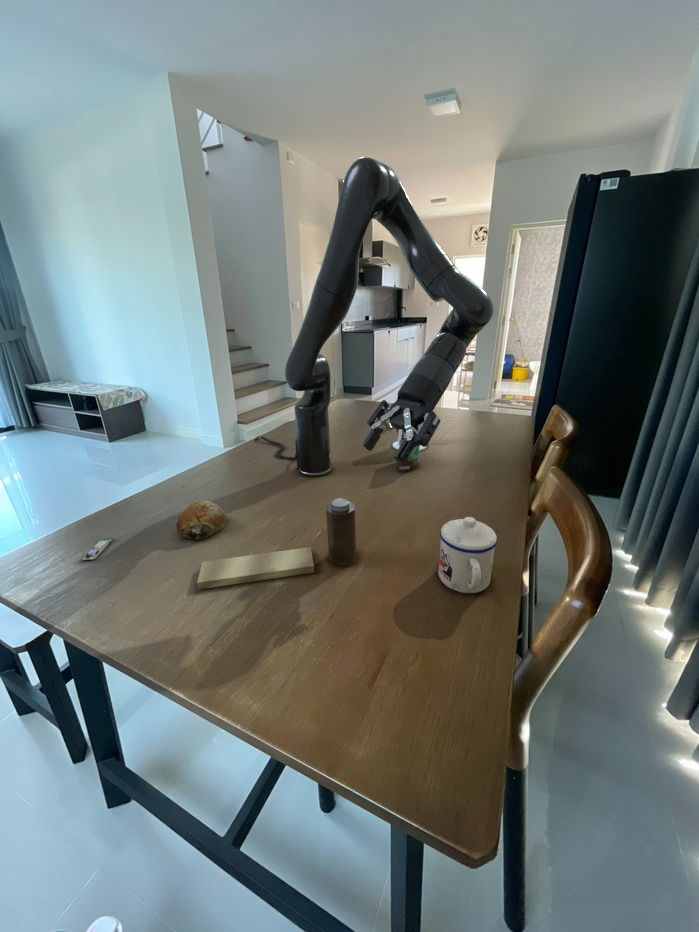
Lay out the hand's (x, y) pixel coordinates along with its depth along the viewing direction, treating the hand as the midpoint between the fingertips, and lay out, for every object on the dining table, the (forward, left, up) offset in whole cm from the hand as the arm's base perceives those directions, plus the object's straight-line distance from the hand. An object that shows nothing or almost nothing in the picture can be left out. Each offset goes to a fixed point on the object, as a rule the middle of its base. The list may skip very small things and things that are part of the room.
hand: (381, 454), depth 71 cm
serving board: (-11, -22, -19) cm, 31 cm away
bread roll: (-33, -22, -19) cm, 43 cm away
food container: (-17, +36, -19) cm, 44 cm away
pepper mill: (-2, -10, -19) cm, 21 cm away
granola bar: (-42, -40, -19) cm, 61 cm away
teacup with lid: (+19, -2, -19) cm, 27 cm away
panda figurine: (-27, +51, -19) cm, 61 cm away
